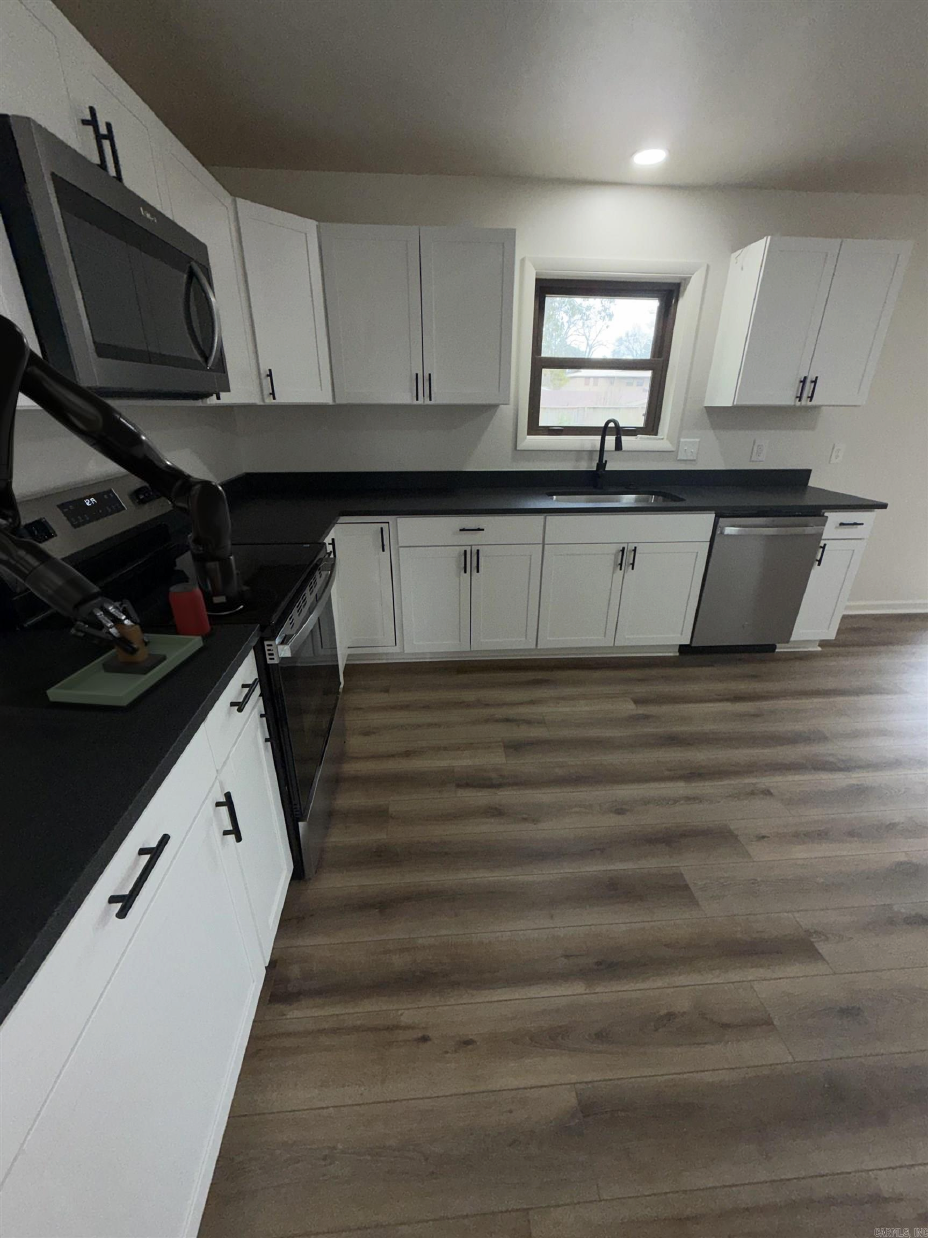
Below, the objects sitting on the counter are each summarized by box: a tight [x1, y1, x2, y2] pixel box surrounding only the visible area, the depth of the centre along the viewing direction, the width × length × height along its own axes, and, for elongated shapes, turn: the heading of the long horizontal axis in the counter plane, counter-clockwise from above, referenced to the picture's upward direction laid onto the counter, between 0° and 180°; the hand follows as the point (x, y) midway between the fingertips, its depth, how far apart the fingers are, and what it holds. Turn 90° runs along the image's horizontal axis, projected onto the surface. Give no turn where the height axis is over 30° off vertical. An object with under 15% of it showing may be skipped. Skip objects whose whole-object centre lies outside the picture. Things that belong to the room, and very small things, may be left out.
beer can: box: [168, 582, 211, 637], centre depth 113 cm, size 7×7×12 cm
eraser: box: [102, 624, 167, 675], centre depth 98 cm, size 10×5×9 cm, turn 84°
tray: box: [46, 633, 204, 707], centre depth 99 cm, size 24×15×3 cm, turn 174°
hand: (141, 648), depth 97 cm, fingers closed on eraser, 2 cm apart
